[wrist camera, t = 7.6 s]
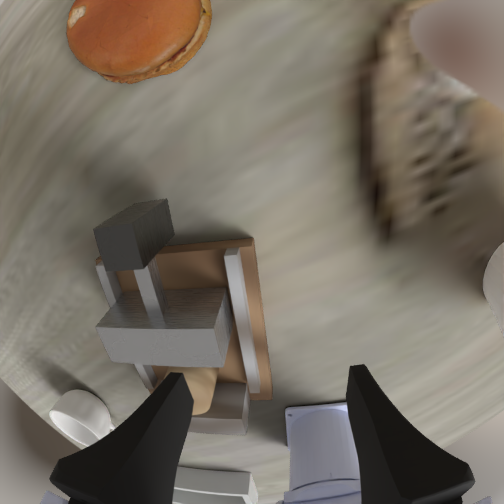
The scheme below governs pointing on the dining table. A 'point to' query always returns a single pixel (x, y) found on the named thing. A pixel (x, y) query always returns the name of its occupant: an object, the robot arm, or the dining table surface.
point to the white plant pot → (495, 285)
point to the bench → (243, 331)
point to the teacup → (82, 416)
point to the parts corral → (213, 487)
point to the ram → (158, 298)
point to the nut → (199, 385)
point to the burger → (137, 36)
